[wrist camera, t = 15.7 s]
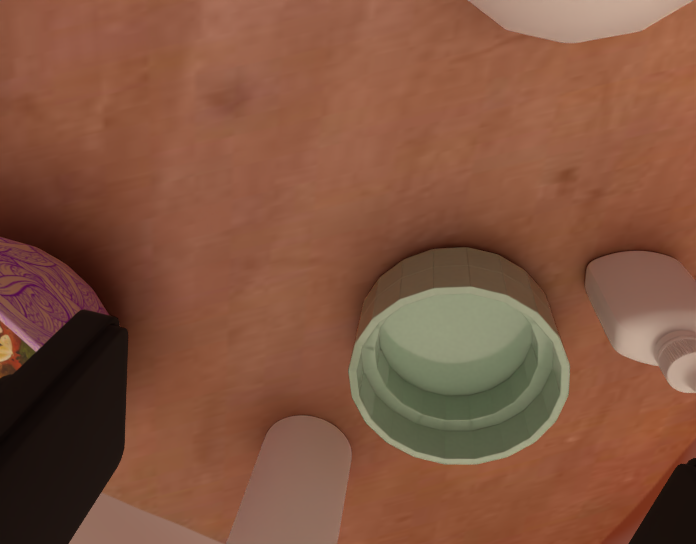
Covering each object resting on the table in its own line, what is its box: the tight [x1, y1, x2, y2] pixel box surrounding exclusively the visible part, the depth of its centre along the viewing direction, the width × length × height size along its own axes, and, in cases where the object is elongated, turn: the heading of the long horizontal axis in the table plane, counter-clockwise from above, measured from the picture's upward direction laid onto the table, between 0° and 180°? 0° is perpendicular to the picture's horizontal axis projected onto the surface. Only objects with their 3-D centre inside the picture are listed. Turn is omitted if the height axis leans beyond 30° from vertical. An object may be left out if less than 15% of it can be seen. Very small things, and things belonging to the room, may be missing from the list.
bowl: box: [348, 247, 570, 464], centre depth 39 cm, size 13×13×6 cm
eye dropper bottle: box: [585, 251, 696, 393], centre depth 33 cm, size 4×6×12 cm
